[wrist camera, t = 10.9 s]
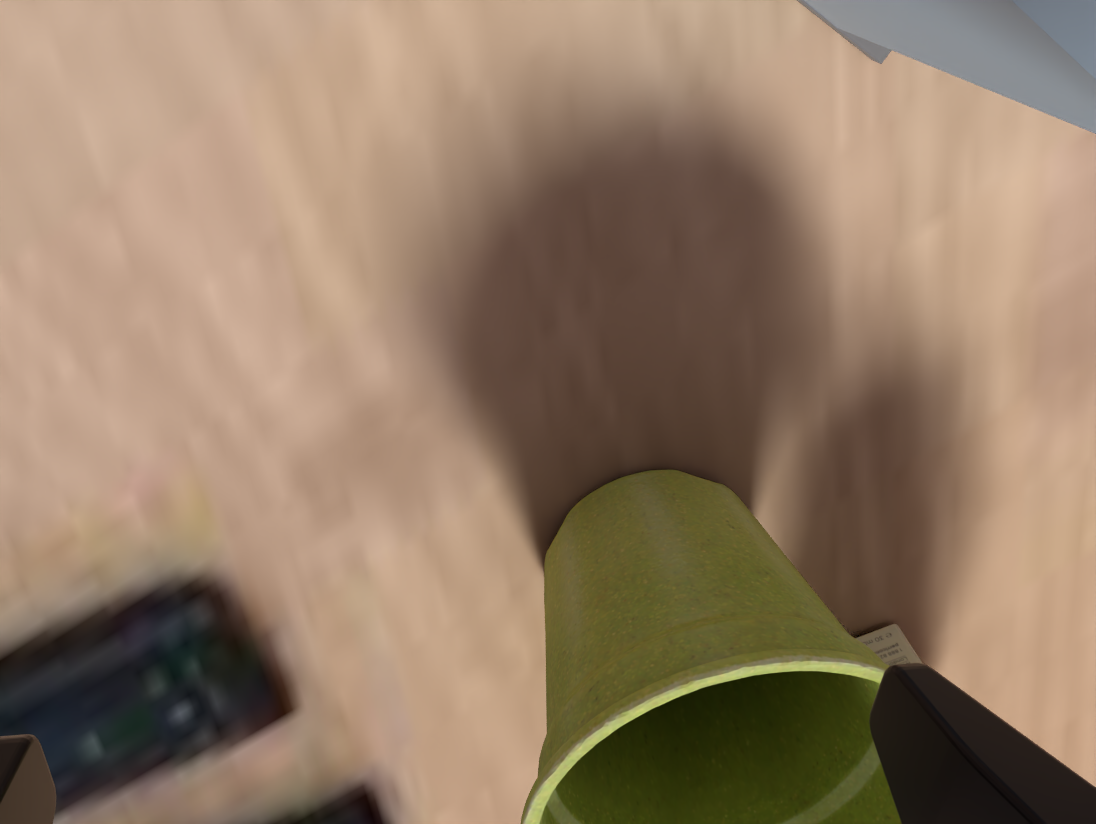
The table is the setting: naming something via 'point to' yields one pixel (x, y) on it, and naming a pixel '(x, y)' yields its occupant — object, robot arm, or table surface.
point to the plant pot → (697, 672)
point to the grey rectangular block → (991, 45)
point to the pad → (855, 39)
